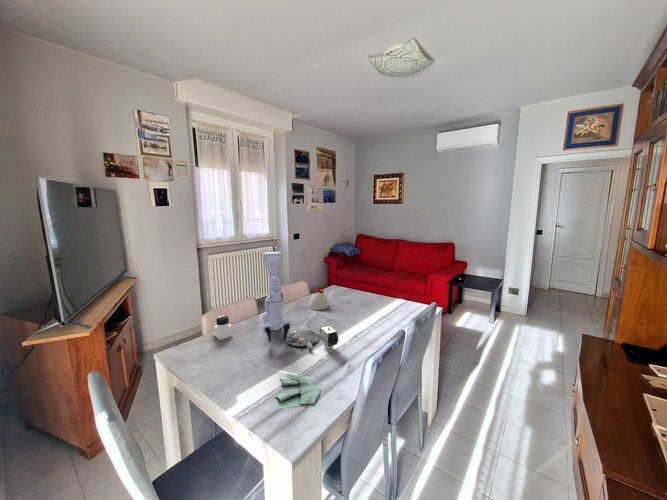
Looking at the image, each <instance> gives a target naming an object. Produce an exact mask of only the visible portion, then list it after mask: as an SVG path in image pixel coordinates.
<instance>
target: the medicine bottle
mask: <svg viewBox="0 0 667 500" xmlns="http://www.w3.org/2000/svg"><path fill="white" fill-rule="evenodd" d="M233 331H234V330H233V325H232V324H230V317H229V316H228V315H220V316H218V317H216V325H213V334H214V335H215V336H216V337H217V338H216V337H215V336H214V335H213V336H214V337H215V338H216V339H218V340H219V339H220V340H219V341H222V340H224V338H225V339H227V337H228V338H230V337H229V336H231V337H233V336H232V335H234V333H233ZM221 339H222V340H221Z"/></svg>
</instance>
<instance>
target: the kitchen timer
mask: <svg viewBox="0 0 667 500" xmlns="http://www.w3.org/2000/svg"><path fill="white" fill-rule="evenodd" d="M324 291H325V289H323V288H321V289H320V287H316V289H314V291H312V293H313V294H312V295H311V296H310V299H309V303H308V308H309V309H311V310H315V311H323V310H326V309H328V307H329V304H328V303H329V302H328V299H327V297H326V296H325V294H324Z"/></svg>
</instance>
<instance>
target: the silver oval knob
mask: <svg viewBox="0 0 667 500" xmlns="http://www.w3.org/2000/svg"><path fill="white" fill-rule="evenodd" d="M306 346H307V348H308V350H309V351H308V352H311V351H312V350H311V347H312V344H311V343H310V342H308V343H307V344H306ZM310 350H311V351H310Z"/></svg>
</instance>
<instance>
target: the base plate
mask: <svg viewBox="0 0 667 500" xmlns="http://www.w3.org/2000/svg"><path fill="white" fill-rule="evenodd" d="M317 335H318V341H317V342H316V343H314V344H312V347H311V350H310V351H309V350H308V348H307V346H305V347H295V346H291V345H289V344H287V343H286V342H285V343H283V344H282V343H281V344H280V346H282V347H287V348H292V349H297V350H304V351H307V352H312V351H313V349H314V348H315V347H316V346H317V345H318V344H319V343H320V342H321V341H322V340H321V338H320V333H317Z"/></svg>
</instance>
